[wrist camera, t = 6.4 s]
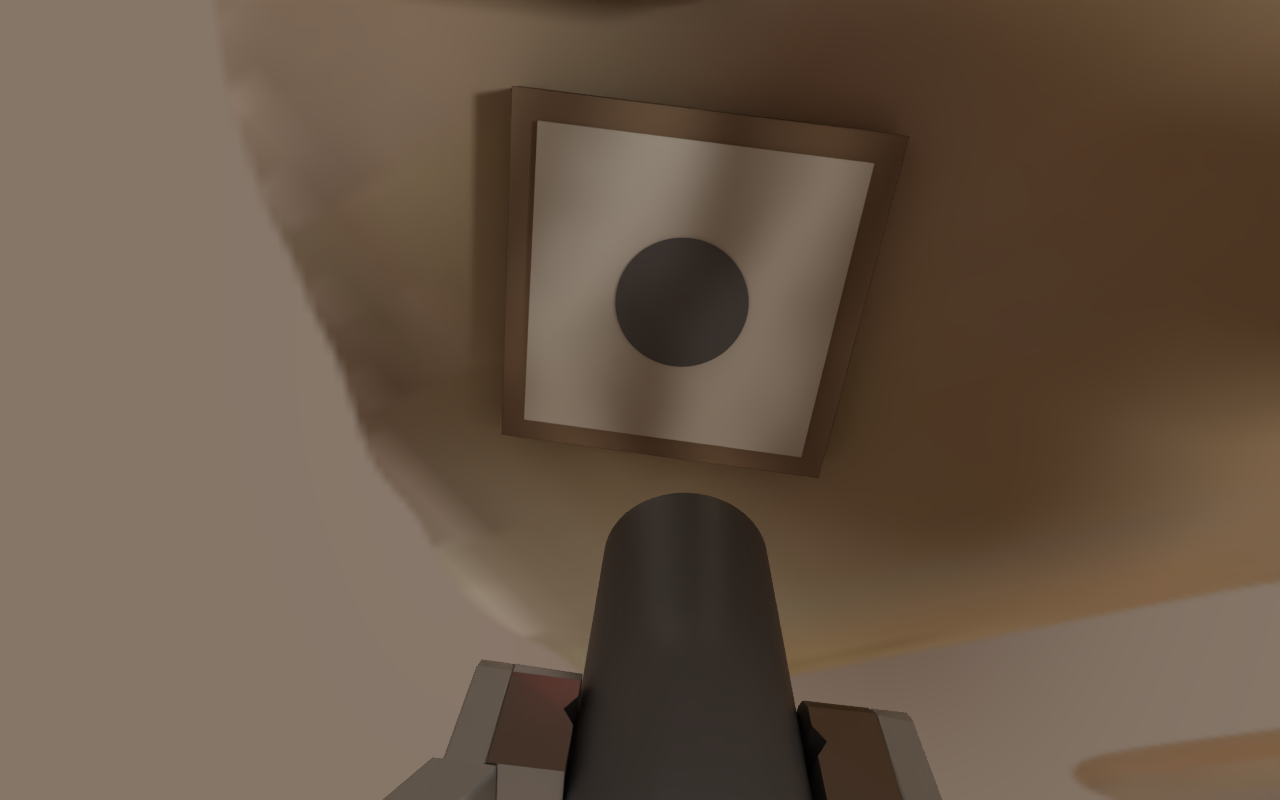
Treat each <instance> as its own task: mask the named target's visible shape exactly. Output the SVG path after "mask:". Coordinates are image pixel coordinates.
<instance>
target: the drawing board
mask: <svg viewBox="0 0 1280 800" xmlns="http://www.w3.org/2000/svg"><path fill="white" fill-rule="evenodd" d="M908 139H909V136H904V135H900V134H893V133H885V132H877V131H869V130H861V129H853V128H846V127H838V126H830V125H822V124H814V123H806V122H798V121H790V120H782V119H775V118H767V117H759V116H751V115H743V114H735V113H727V112H719V111H711V110H704V109H696V108H688V107H680V106H672V105H664V104H656V103H648V102H640V101H633V100H625V99H617V98H609V97H601V96H593V95H585V94H577V93H569V92H562V91H554V90H546V89H538V88H530V87H522V86H512V107H511V141H510V174H509V208H508V241H507V275H506V308H505V342H504V375H503V409H502V435H509V436H517V437H524V438H531V439H538V440H546V441H553V442H560V443H568V444H575V445H582V446H589V447H597V448H604V449H611V450H619V451H626V452H633V453H640V454H648V455H655V456H662V457H670V458H677V459H684V460H691V461H699V462H706V463H713V464H721V465H728V466H735V467H742V468H750V469H757V470H764V471H772V472H779V473H786V474H793V475H801V476H808V477H815V478H819V474H820V470H821V467H822V463H823V459H824V455H825V452H826V448H827V444H828V440H829V437H830V433H831V429H832V425H833V421H834V418H835V414H836V410H837V406H838V403H839V399H840V395H841V391H842V388H843V384H844V380H845V376H846V373H847V369H848V365H849V361H850V357H851V354H852V350H853V346H854V342H855V339H856V335H857V331H858V327H859V324H860V320H861V316H862V312H863V309H864V305H865V301H866V297H867V293H868V290H869V286H870V282H871V278H872V275H873V271H874V267H875V263H876V260H877V256H878V252H879V248H880V245H881V241H882V237H883V233H884V230H885V226H886V222H887V218H888V214H889V211H890V207H891V203H892V199H893V196H894V192H895V188H896V184H897V181H898V177H899V173H900V169H901V166H902V162H903V158H904V154H905V150H906V147H907V143H908Z"/></svg>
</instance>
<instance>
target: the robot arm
mask: <svg viewBox="0 0 1280 800" xmlns="http://www.w3.org/2000/svg"><path fill="white" fill-rule="evenodd" d="M582 676H583V675H582V674H579V673H572V672H566V671H559V670H553V669H546V668H539V667H533V666H526V665H520V664H510V663H503V662H496V661H489V660H481V661H480V663H479V664H478V666H477V667H476V669H475V672H474V675H473V677H472V680H471V683H470V686H469V689H468V691H467V694H466V697H465V700H464V703H463V705H462V708H461V711H460V714H459V716H458V719H457V722H456V725H455V728H454V730H453V733H452V736H451V739H450V742H449V744H448V747H447V750H446V753H445V755H444V758H443V759H442V758H432V759H430V760H429V761H428V762H427V763H426V764H424V765H423V766H422V767H421V768H420V769H419V770H417V771H416V772H415V773H414V774H413V775H411V776H410V777H409V778H408V779H407V780H406V781H404V782H403V783H402V784H401V785H400V786H398V787H397V788H396V789H395V790H394V791H392V792H391V793H390V794H389V795H388V796H386V797H385V798H384V799H383V800H563V798H564V793H565V787H566V781H567V775H568V770H569V764H570V756H571V747H572V741H573V735H574V732H575V729H576V722H577V716H578V710H579V703H580V697H581V690H582ZM796 713H797V718H798V724H799V729H800V735H801V740H802V746H803V751H804V757H805V762H806V767H807V773H808V778H809V784H810V789H811V795H812V800H942V798H941V795H940V793H939V790H938V787H937V784H936V782H935V779H934V776H933V774H932V771H931V768H930V766H929V763H928V760H927V758H926V755H925V752H924V750H923V747H922V744H921V742H920V739H919V736H918V734H917V731H916V728H915V725H914V723H913V720H912V719H911V717H910V716H909V715H908V714H907V713H904V712H895V711H887V710H878V709H869V708H864V707H855V706H846V705H837V704H829V703H819V702H811V701H802V702H801V703H800V705H799V706H798V709H797V712H796Z"/></svg>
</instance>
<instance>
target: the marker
mask: <svg viewBox="0 0 1280 800" xmlns="http://www.w3.org/2000/svg"><path fill="white" fill-rule="evenodd" d="M563 800H812V795H811V789H810V784H809V778H808V773H807V767H806V762H805V757H804V751H803V746H802V740H801V735H800V729H799V724H798V718H797V713H796V708H795V702H794V697H793V692H792V686H791V680H790V675H789V670H788V664H787V659H786V653H785V648H784V642H783V637H782V631H781V626H780V621H779V615H778V610H777V604H776V599H775V593H774V588H773V583H772V577H771V572H770V566H769V561H768V555H767V550H766V545H765V543H764V540H763V537H762V535H761V533H760V532H759V530H758V528H757V527H756V526H755V524H754V523H753V522H752V521H751V520H750V519H749V518H748V517H747V516H746V515H745V514H744V513H743V512H741V511H740V510H739V509H737V508H736V507H734V506H732V505H731V504H729V503H727V502H724V501H722V500H720V499H717V498H714V497H710V496H707V495H701V494H694V493H674V494H668V495H662V496H659V497H655V498H652V499H649V500H647V501H645V502H642V503H641V504H639V505H637V506H635V507H634V508H632V509H631V510H630V511H628V512H627V513H626V514H625V515H624V516H623V517H622V518H621V519H620V520H619V521H618V522H617V523H616V525H615V526H614V527H613V529H612V531H611V532H610V534H609V536H608V539H607V542H606V545H605V550H604V556H603V562H602V568H601V574H600V580H599V586H598V592H597V598H596V604H595V610H594V616H593V622H592V628H591V634H590V640H589V646H588V651H587V657H586V663H585V669H584V675H583V681H582V690H581V697H580V703H579V710H578V716H577V722H576V729H575V732H574V735H573V741H572V747H571V756H570V764H569V770H568V775H567V781H566V787H565V793H564V798H563Z"/></svg>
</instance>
